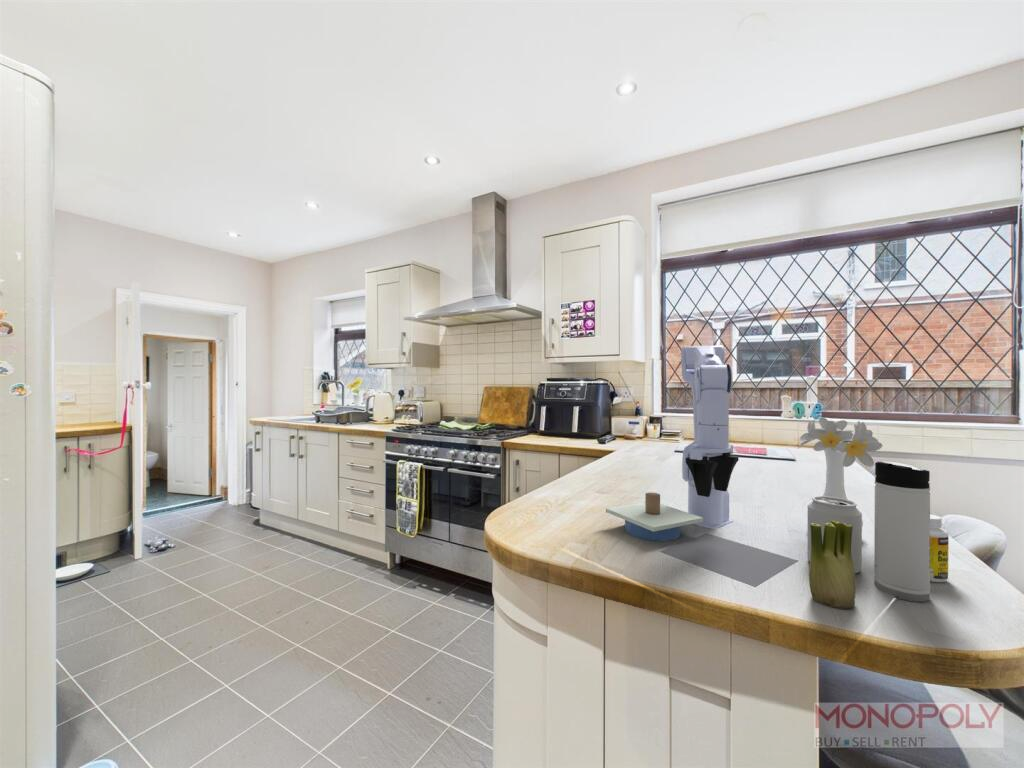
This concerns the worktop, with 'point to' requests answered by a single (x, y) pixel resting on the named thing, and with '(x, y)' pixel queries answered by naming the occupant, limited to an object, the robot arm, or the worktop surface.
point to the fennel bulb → (832, 565)
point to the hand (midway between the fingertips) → (712, 493)
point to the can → (842, 512)
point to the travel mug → (902, 531)
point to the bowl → (650, 535)
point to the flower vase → (841, 450)
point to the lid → (654, 514)
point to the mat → (730, 558)
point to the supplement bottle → (938, 550)
